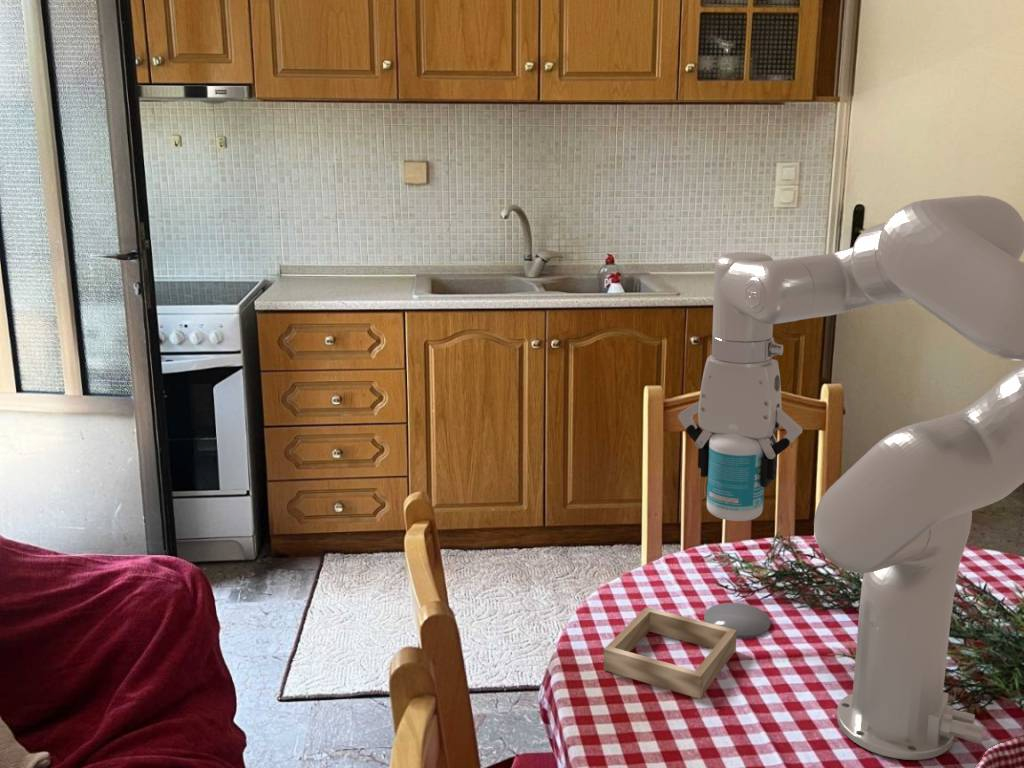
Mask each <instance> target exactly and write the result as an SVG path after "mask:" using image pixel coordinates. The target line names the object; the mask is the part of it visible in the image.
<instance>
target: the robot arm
mask: <svg viewBox="0 0 1024 768" xmlns="http://www.w3.org/2000/svg"><path fill="white" fill-rule="evenodd" d="M1023 253H1024V219H1023V216H1021V214H1020V213H1019V212H1018V210H1017V209H1016V208H1014V207H1013V205H1011V204H1009V203H1008V202H1007V201H1005V200H1002V199H1001V198H997V197H994V196H989V195H978V194H977V195H964V196H963V195H962V196H961V195H960V196H951V197H941V198H930V199H922V200H917V201H914V202H911V203H908V204H906V205H905V206H902V207H901V208H899V209H898V210H897V211H895V213H893V214H892V215H891V216H889V218H888V219H887V221H885V222H883V223H879V224H876V225H872V226H870V227H868V228H865V229H864V230H863V231H862V232H861V233H860V234H859V235H858V236H857V238H856V240H855V241H854V244H853V246H851V247H848V248H845V249H841V250H839V251H834V252H831V253H830V252H829V253H826V254H825V253H824V254H819V255H817V254H816V255H808V256H800V257H792V258H784V259H783V258H782V259H777V260H775V259H773V257H772V256H770V255H768V254H765V253H762V252H760V253H759V252H750V251H749V252H747V251H746V252H745V251H743V252H742V251H741V252H737V251H735V252H730V253H729V252H727V253H725V254H722V255H721V256H719V257H718V259H716V262H715V264H714V274H713V275H714V280H713V305H712V307H713V308H712V310H713V311H712V332H711V333H712V334H711V335H712V339H711V340H712V341H711V354H710V355H709V356H708V357H707V358H706V361H705V364H704V369H703V372H702V373H703V375H702V378H701V379H702V380H701V385H700V391H699V398H698V399H699V400H698V401H696V402H695V403H693V404H692V405H690V406H688V407H687V408H686V409H684V410H682V411H680V412H679V413H678V414H677V419H678V421H679V422H680V423H681V425H682V426H683V428H685V432H686V434H687V435H688V436H689V437H690V438H691V440H693V442H694V446H695V447H696V448H698V450H697V451H698V452H697V468H698V469H700V477H701V478H708V459H709V439H710V437H711V435H712V434H713V433H716V434H731V433H733V434H737V435H739V436H743V437H747V438H752V439H758V441H759V443H760V445H761V447H762V448H763V450H764V452H765V456H764V457H763V458H762V461H761V482H760V485H761V486H762V487H764V488H767V487H768V485H770V483H771V482H772V481H775V479H776V477H777V467H778V464H777V463H778V455H779V454H780V453H782V452H783V451H785V450H786V449H787V448H788V447H789V446H790V445H791V444H792V443H793V442H794V441H796V439H797V438H798V437H799V436H800V435H801V434H802V433H803V428H802V426H801V425H800V424H798V423H797V422H796V421H795V420H794V419H793V418H792V417H790V415H788V414H787V413H786V412H785V411H784V410H782V408H783V407H782V385H781V374H780V369H779V368H780V367H779V361H778V360H777V359H772V358H773V357H774V356H783V354H784V344H778V343H777V342H776V341H775V337H773V334H774V333H773V331H774V325H777V324H784V323H785V324H786V323H790V322H798V321H800V320H808V319H815V318H822V317H829V316H835V315H839V314H844V313H848V312H851V311H856V310H857V311H858V310H861V309H865V308H866V309H867V308H869V307H875V306H878V305H885V306H886V305H890V304H891V305H892V304H894V303H899V302H903V301H907V300H913V301H914V302H915V303H916V304H918V305H919V306H920V307H922V308H923V309H924V310H926V311H928V312H929V313H930V314H931V315H933V316H935V318H937V319H939V320H940V321H941V322H942V323H944V324H946V325H947V326H948V327H949V328H951V329H952V330H953V331H955V332H957V333H958V335H960V336H961V337H963V338H964V339H966V340H967V341H969V342H970V343H971V344H973V345H974V346H975V347H978V348H979V349H981V350H982V351H985V352H986V353H988V354H991V355H993V356H995V357H998V358H999V359H1000V358H1001V359H1005V360H1008V361H1017V362H1018V361H1021V362H1022V361H1023V362H1022V363H1020V364H1019V365H1017V366H1016V367H1014V368H1013V369H1011V370H1010V371H1009V372H1007V373H1006V374H1005V375H1004V376H1002V377H1001V378H1000V379H999V380H998V381H997V382H996V383H995V384H994V385H993V386H992V387H991V388H990V389H989V390H987V391H986V392H985V393H984V394H983V395H982V396H980V397H979V398H978V399H977V400H976V401H974V402H972V404H970V405H968V406H967V407H965V408H963V409H962V410H959V411H957V412H954V413H951V414H946V415H944V416H940V417H937V418H933V419H929V420H928V419H927V420H924V421H919V422H917V423H912V424H910V425H906V426H903V427H901V428H898V429H897V430H894V431H893V432H891V433H890V434H887V435H886V436H884V437H883V438H882V439H880V440H879V441H878V442H877V443H876V444H874V445H873V446H872V447H870V449H869V450H868V451H867V452H866V453H865V454H864V455H862V457H861V458H860V459H858V460H857V461H856V462H855V463H854V464H853V465H852V466H851V467H850V468H849V469H848V470H847V471H846V472H844V473H843V474H842V475H841V476H840V477H839V478H838V479H837V480H836V481H835V482H834V483H833V484H832V485H831V486H830V487H829V488H828V489H827V490H826V491H825V493H824V494H823V495H822V497H821V498H820V500H819V502H818V505H817V507H816V511H815V514H814V519H813V527H814V528H813V531H814V537H815V540H816V543H817V546H818V548H819V549H820V552H821V553H822V555H824V557H825V558H826V559H827V560H828V561H829V562H831V563H832V564H833V565H834V566H836V567H837V568H840V569H842V570H844V571H846V572H850V573H856V574H863V575H862V576H863V577H862V581H861V589H860V599H859V609H858V624H857V635H856V636H857V637H856V648H855V659H854V670H853V671H854V672H853V673H854V674H853V685H852V693H850V694H848V695H846V696H845V697H843V698H842V699H841V701H840V702H839V703H838V706H837V707H836V708H837V709H836V720H837V724H838V726H839V728H840V730H841V731H842V732H843V733H844V735H846V737H847V738H848V739H850V740H851V741H852V742H853V743H854V744H855V743H856V745H858V746H859V747H861V748H863V749H865V750H867V751H869V752H872V753H873V754H874V753H875V754H877V755H880V756H884V757H888V758H891V759H898V760H904V761H906V760H907V761H908V760H909V761H921V760H928V759H932V758H937V757H939V756H941V755H943V754H945V753H946V752H947V751H949V750H950V748H951V746H952V745H953V743H954V738H955V737H956V738H959V739H963V740H964V741H968V742H971V743H973V744H974V743H975V744H977V745H982V743H983V738H984V732H985V731H984V729H985V727H984V726H982V725H979V724H975V719H976V718H975V717H976V715H975V714H973V713H970V712H967V711H960V710H956V709H954V707H953V706H952V705H951V706H950V705H948V704H949V696H950V695H949V693H948V692H945V691H944V688H945V687H944V686H945V677H946V667H947V660H948V649H949V641H950V631H951V630H950V629H951V620H952V614H953V608H954V599H955V592H956V591H955V590H956V584H957V578H958V573H959V568H960V564H961V561H962V557H963V554H964V551H965V548H966V545H967V542H968V539H969V535H970V531H971V527H972V520H973V511H976V510H978V509H981V508H984V507H987V506H990V505H991V504H994V503H997V502H999V501H1001V500H1003V499H1005V497H1007V496H1009V495H1010V494H1012V492H1014V491H1015V490H1016V489H1017V488H1019V487H1020V486H1021V485H1023V483H1024V261H1021V260H1020V259H1021V257H1022V255H1023ZM695 415H697V421H698V423H696V422H695V420H694V418H693V417H694V416H695ZM730 424H735V425H737V427H738V428H739V430H737V431H730V429H729V428H727V427H728V426H729V425H730ZM781 427H782V428H784V430H785V431H786V434H785V435H784V436H783V437H782V438H781V439H779V440H777V437H776V436H775V434H774V432H776V431H778V430H780V428H781Z"/></svg>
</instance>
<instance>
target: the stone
mask: <svg viewBox="0 0 1024 768" xmlns="http://www.w3.org/2000/svg"><path fill="white" fill-rule="evenodd" d="M703 617H704V618H703V620H704V621H703V622H707V623H710V624H714V625H718V626H722V627H726V628H730V629H734V630H737V638H736V639H750V638H751V639H752V638H756V637H761V636H762V635H764V634H765V633H767V632H768V631H769V630H770V627H771V618H770V616H769V615H768V613H766V612H765V611H763V610H762V609H760V608H758V607H756V606H753V605H750V604H745V603H740V602H722V603H719V604H715V605H712V606H710V607H709V608H707V609H706V610H705V612H704V616H703Z"/></svg>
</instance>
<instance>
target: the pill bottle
mask: <svg viewBox="0 0 1024 768" xmlns="http://www.w3.org/2000/svg"><path fill="white" fill-rule="evenodd" d="M727 428H729V429H730V431H737V430H739V428H738V427H737V425H735V424H730V425H729V426H728V427H727ZM764 456H765V452H764V450H763V448H762V447H761V445H760V443H759V441H758V439H752V438H747V437H743V436H739V435H737V434H733V433H731V434H716V433H713V434H712V435H711V437H710V439H709V459H708V476H707V484H706V487H707V489H706V490H707V491H706V509H707V511H708V512H709V513H710V514H711V515H712V516H714V517H716V518H717V519H721V520H726V521H732V522H746V521H752V520H754V519H756V518H758V517H760V516H761V515H762V512H763V510H764V496H765V495H764V494H765V487H762V486H761V485H760V482H761V461H762V458H763V457H764Z"/></svg>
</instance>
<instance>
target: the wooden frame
mask: <svg viewBox="0 0 1024 768" xmlns="http://www.w3.org/2000/svg"><path fill="white" fill-rule="evenodd" d="M649 632H650V633H654V634H658V635H661V636H664V637H665V636H666V637H668V638H672V639H676V640H680V641H682V642H687V643H691V644H695V645H698V646H702V647H706V648H709V649H712V650H711V651H710V652H709V653H708V655H707V656H706V657H705V658H704V660H703V661H702V662H701V663H700V665H699V666H698V667H697V669H696V670H695V669H690V668H687V667H683V666H680V665H677V664H673V663H670V662H666V661H663V660H659V659H655V658H651V657H649V656H644V655H641V654H638V653H634V652H631V651H632V650H634V649H635V647H636V646H637V645H638V644H639V643H640V642H641V641H643V639H644V638H645V637H646V636H647V635H648V634H649ZM737 639H738V638H737V630H734V629H730V628H726V627H722V626H718V625H714V624H710V623H707V622H704V621H702V620H698V619H695V618H690V617H686V616H682V615H680V614H675V613H671V612H667V611H663V610H658V609H656V608H655V609H654V608H652V607H648V606H645V607H644V608H643V609H642V611H640V613H639V614H638V615H636V617H635V618H633V620H631V622H629V623H628V624H627V626H625V627H624V628H623V629H622V631H621V632H620V633H619V634H618V635H617V636H616V637H614V638H613V640H612V641H610V642H609V643H608V645H606V647H604V649H603V671H606V672H609V673H611V674H616V675H619V676H621V677H622V676H623V677H625V678H629V679H632V680H636V681H639V682H642V683H645V684H649V685H652V686H656V687H659V688H663V689H665V690H669V691H671V692H675V693H679V694H682V695H686V696H689V697H692V698H695V699H699V700H700V699H701V698H702V696H703V695H704V694H705V693H706V691H707V690H708V688H709V687H710V686H711V684H712V683H713V682H714V681H715V679H716V678H717V676H718V675H719V674H720V672H721V671H722V670H723V668H724V667H725V666H726V664H727V663H728V661H730V659H731V658H732V657H733V655H734V654H735V652H736V651H737Z"/></svg>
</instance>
